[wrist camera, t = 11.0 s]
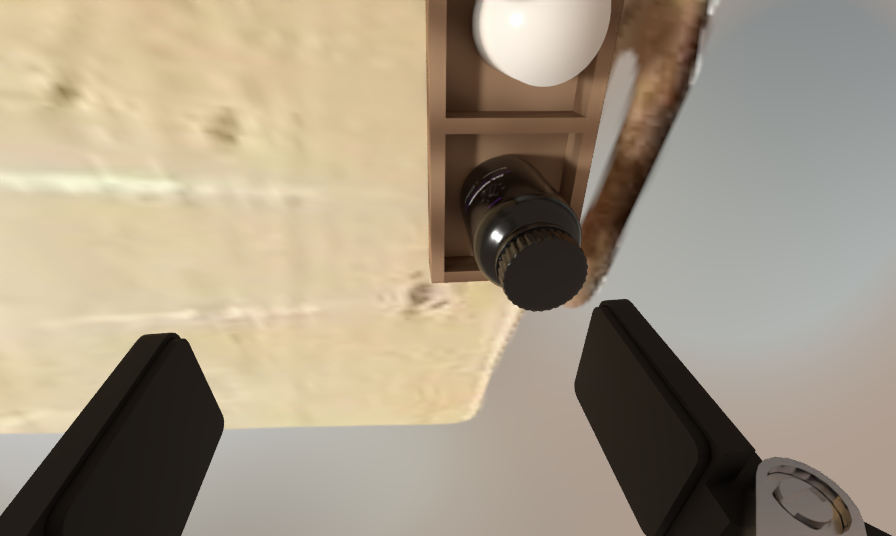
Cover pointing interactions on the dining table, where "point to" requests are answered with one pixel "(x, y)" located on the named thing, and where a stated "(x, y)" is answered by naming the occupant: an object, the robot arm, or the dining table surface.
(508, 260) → the supplement bottle
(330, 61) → the dining table surface
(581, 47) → the white rounded cylinder
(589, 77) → the caddy
